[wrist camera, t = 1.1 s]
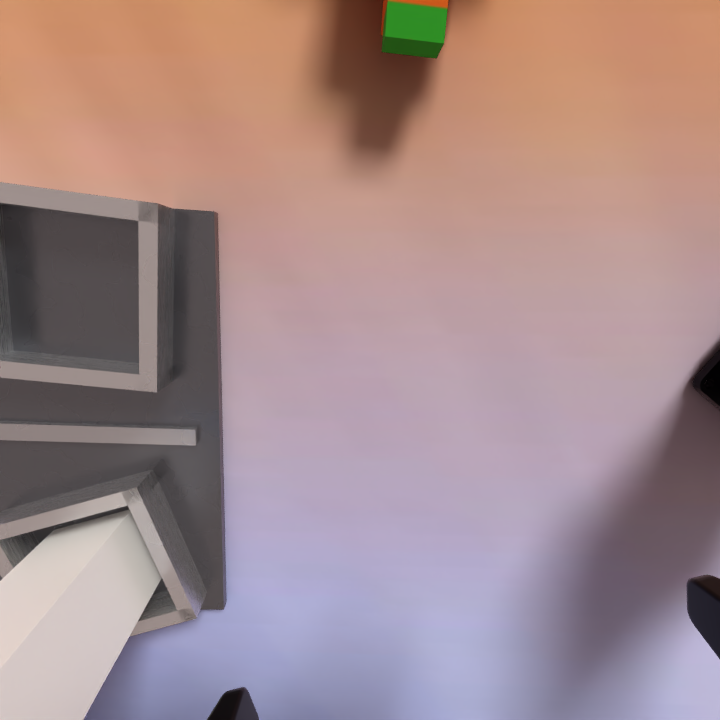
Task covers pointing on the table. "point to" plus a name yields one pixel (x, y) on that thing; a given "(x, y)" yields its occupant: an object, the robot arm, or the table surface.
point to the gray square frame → (156, 524)
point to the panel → (109, 405)
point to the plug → (71, 616)
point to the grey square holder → (153, 296)
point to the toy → (414, 27)
